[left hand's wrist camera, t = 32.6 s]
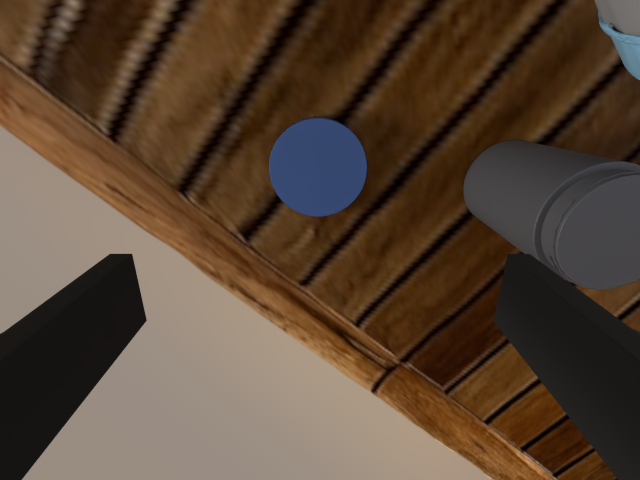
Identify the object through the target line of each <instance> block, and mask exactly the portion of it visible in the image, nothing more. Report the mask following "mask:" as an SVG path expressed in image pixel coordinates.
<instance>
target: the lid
mask: <svg viewBox="0 0 640 480" xmlns="http://www.w3.org/2000/svg"><path fill="white" fill-rule="evenodd" d="M283 132H284V133H283V134H282V135H281V136H280V137H279V138H278V139H277V140H276V143H275V145H274V147H273V149H272V150H271V151H272V152H271V156H270V160H269V173H270V178H271V182H272V185H273V187H274V190H275V191H276V193H277V195H278V196H279V197H280V199H281V200H282V201H283V202H284V203H285V204H286V205H288V206H289V207H290V208H292V209H293V210H295V211H297V212H299V213H302V214H305V215H309V216H327V215H332V214H335V213H337V212H339V211H341V210H343V209H345V208H346V207H348V206H349V205H350V204H351V203H352V202H353V201H354V200H355V199H356V198H357V196H358V195H359V193H360V192H361V190H362V188H363V185H364V183H365V179H366V174H367V161H366V156H365V155H366V154H365V152H364V149H363V147H362V144H361V142H360V141H359V140H358V138H357V137H356V136H355V135H356V134H355V133H353V132H352V131H350V130H349V129H348V128H347V126H344V125H343V124H341V123H339V122H338V121H337V120H336V121H335V120H332V119H329V118H327V117H325V118H324V117H315V116H314V117H313V118H307V119H303V120H301V121H299V122H297V123H293V124H292V126H290V127H289V128H288V129H287V130H284V131H283Z"/></svg>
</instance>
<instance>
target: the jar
mask: <svg viewBox="0 0 640 480" xmlns="http://www.w3.org/2000/svg"><path fill="white" fill-rule="evenodd" d="M463 194H464V200H465V203H466V205H467V207H468V209H469V210H470V212H471V213H472V214H473V215H474V216H475V217H477V218H478V219H479V220H481V221H482V222H483V223H485V224H486V225H487V226H489V227H490V228H491V229H493V230H494V231H495V232H497V233H498V234H499V235H501V236H502V237H503V238H505V239H506V240H507V241H509V242H510V243H511V244H513V245H514V246H515V247H517V248H518V249H519V250H521V251H522V252H523V253H525V254H531V255H532V256H533V257H535V258H536V259H537V260H539V261H540V262H542V263H543V264H544V265H546V266H547V267H548V268H550V269H551V270H552V271H554V272H555V273H556V274H558V275H559V276H561V277H562V278H563V279H565V280H569V281H570V282H573V283H575V284H577V285H579V286H581V287H584V288H591V289H597V290H602V289H612V288H614V287H618V286H622V285H625V284H628V283H631V282H633V281H635V280H638V279H640V166H639V165H637V164H634V163H630V162H625V161H620V160H615V159H610V158H605V157H600V156H595V155H591V154H586V153H581V152H576V151H571V150H566V149H561V148H556V147H551V146H546V145H541V144H536V143H531V142H527V141H521V140H509V141H504V142H500V143H498V144H495V145H493V146H491V147H490V148H488V149H486V150H485V151H484V152H482V153H481V154H480V155H479V156H478V157H477V158H476V159H475V160H474V162H473V163H472V165H471V166H470V168H469V170H468V172H467V174H466V177H465V181H464V187H463Z"/></svg>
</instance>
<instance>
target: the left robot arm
mask: <svg viewBox="0 0 640 480" xmlns="http://www.w3.org/2000/svg"><path fill="white" fill-rule="evenodd" d="M594 1H595V4H596V6H597V9H598V11H599V12H598V17H599V23H600V27H601V28H602V30H603V31H604V32H605V33H606V34H608V35H609V36H610V37H611V39H612V40H613V42H614V45H615V47H616V49H617V51H618V53H619V55H620V57H621V59H622V61H623V64H624V65H625V67H626V69H627V70H628V71H629V72H630V74H632V75H633V76H634V77H635V78H637V79H638V80H640V0H594ZM493 321H494V322H495V323H496V324H497V326H498V327H499V328H500V329H501V331H502V332H503V333H504V335H505V336H506V337H507V338H508V340H509V341H510V342H511V344H512V345H513V346H514V347H515V349H516V350H517V351H518V352H519V354H520V355H521V356H522V358H523V359H524V360H525V361H526V363H527V364H528V365H529V366H530V368H531V369H532V370H533V372H534V373H535V374H536V375H537V377H538V378H539V379H540V380H541V382H542V383H543V384H544V386H545V387H546V388H547V389H548V391H549V392H550V393H551V394H552V396H553V397H554V398H555V400H556V401H557V402H558V403H559V405H560V406H561V407H562V408H563V410H564V411H565V412H566V414H567V415H568V416H569V417H570V419H571V420H572V421H573V422H574V424H575V425H576V426H577V428H578V429H579V430H580V431H581V433H582V434H583V435H584V436H585V438H586V439H587V440H588V442H589V443H590V444H591V445H592V447H593V448H594V449H595V451H596V452H597V453H598V454H599V456H600V457H601V458H602V459H603V461H604V462H605V463H606V465H607V466H608V467H609V468H610V470H611V471H612V472H613V473H614V475H615V476H616V477H617V479H618V480H640V332H638V331H636V330H634V329H631V328H630V327H629V326H627V325H626V324H624V323H623V322H622V321H620V320H619V319H618V318H616V317H615V316H614V315H612V314H611V313H610V312H608V311H607V310H605V309H604V308H603V307H601V306H600V305H599V304H597V303H596V302H595V301H593V300H592V299H590V298H589V297H588V296H586V295H585V294H584V293H582V292H581V291H580V290H578V289H577V288H576V287H574V286H573V285H571V284H570V283H569V282H567V281H566V280H565V279H563V278H562V277H561V276H559V275H558V274H556V273H555V272H554V271H552V270H551V269H550V268H548V267H547V266H546V265H544V264H543V263H542V262H540V261H539V260H537V259H536V258H535V257H533V256H532V255H531V254H508V256H507V261H506V265H505V270H504V274H503V279H502V284H501V288H500V293H499V297H498V302H497V307H496V311H495V316H494V320H493ZM145 322H146V316H145V311H144V307H143V302H142V298H141V293H140V288H139V284H138V279H137V275H136V270H135V265H134V261H133V256H132V254H109V255H108V256H107V257H105V258H104V259H103V260H101V261H100V262H98V263H97V264H96V265H94V266H93V267H92V268H90V269H89V270H88V271H86V272H85V273H84V274H82V275H81V276H79V277H78V278H77V279H75V280H74V281H73V282H71V283H70V284H69V285H67V286H66V287H64V288H63V289H62V290H60V291H59V292H58V293H56V294H55V295H54V296H52V297H51V298H50V299H48V300H47V301H45V302H44V303H43V304H41V305H40V306H39V307H37V308H36V309H35V310H33V311H32V312H30V313H29V314H28V315H26V316H25V317H24V318H22V319H21V320H20V321H18V322H17V323H16V324H14V325H13V326H11V327H10V328H9V329H7V330H6V331H5V332H3V333H1V334H0V480H22V478H23V477H24V476H25V475H26V473H27V472H28V471H29V470H30V468H31V467H32V466H33V465H34V463H35V462H36V461H37V459H38V458H39V457H40V456H41V454H42V453H43V452H44V450H45V449H46V448H47V447H48V445H49V444H50V443H51V442H52V440H53V439H54V438H55V436H56V435H57V434H58V433H59V431H60V430H61V429H62V427H63V426H64V425H65V424H66V422H67V421H68V420H69V419H70V417H71V416H72V415H73V414H74V412H75V411H76V410H77V408H78V407H79V406H80V405H81V403H82V402H83V401H84V400H85V398H86V397H87V396H88V394H89V393H90V392H91V391H92V389H93V388H94V387H95V386H96V384H97V383H98V382H99V380H100V379H101V378H102V377H103V375H104V374H105V373H106V372H107V370H108V369H109V368H110V366H111V365H112V364H113V363H114V361H115V360H116V359H117V358H118V356H119V355H120V354H121V352H122V351H123V350H124V349H125V347H126V346H127V345H128V343H129V342H130V341H131V340H132V338H133V337H134V336H135V335H136V333H137V332H138V331H139V329H140V328H141V327H142V326H143V324H144V323H145Z"/></svg>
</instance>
